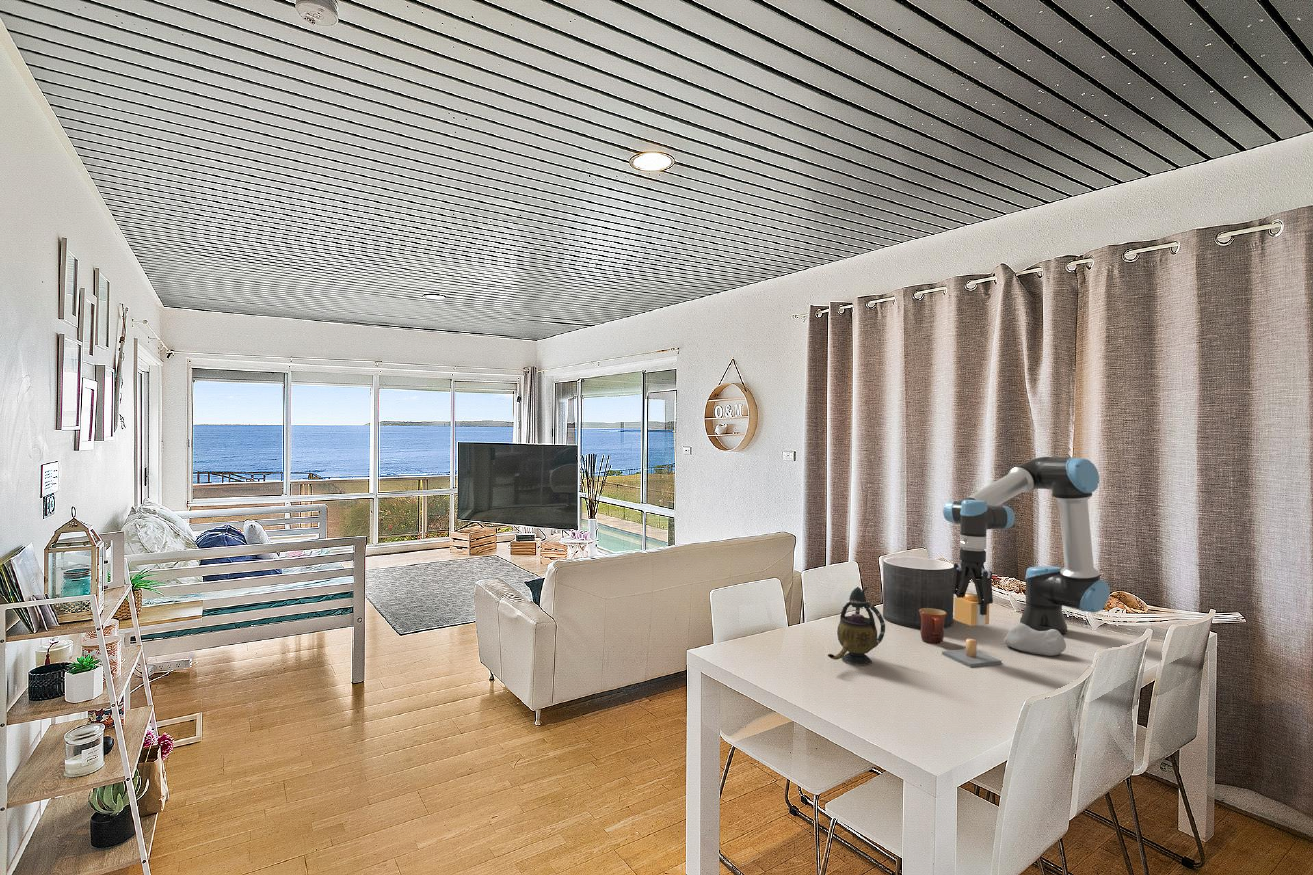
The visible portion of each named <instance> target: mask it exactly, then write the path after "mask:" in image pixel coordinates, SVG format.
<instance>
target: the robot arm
mask: <svg viewBox="0 0 1313 875" xmlns="http://www.w3.org/2000/svg"><path fill="white" fill-rule="evenodd" d="M1099 483H1100V474H1099V470H1098V469H1097V467H1096V465H1095V464H1094V463H1093V462H1091V460H1089V459H1087V458H1082V457H1075V456H1073V457H1072V456H1071V457H1069V456H1065V457H1064V456H1041V457H1040V456H1039V457H1037V458H1034V459H1030V460H1028V461H1025V462H1023V463H1021V464H1018V465H1016V466H1015V467H1013V468H1011V469H1010V470H1009V471H1008V473H1007V475H1004V476H1003V477H1001V478H999V479H997V480H996V481H994V482H993V483H990V484H989V485H987V486H985V487H983V488H982V489H980V490H978V491H976V492H974V493H972V494H971V495H969V496H966V497H965V498H964V499H961V500H959V501H958V500H950V501H947V502H946V503H945V504H944V506H943V509H942V514H943V517H944V519H945V521H947V522H949V523H953V524H955V525H958V524H959V525H960V534H959V538H960V539H959V540H960V541H959V546H960V549H959V560H960V561H961V563H953V565H954V578H953V587H952V593H953V594H954V596H956V598H960V597H965V594H966V593H967V591H968V588H969V584H970V582H971V581H972V583H973V584H974V587H975V588H974V589H975V592H976V594H977V596H978V600H979V603H977V618H976V625H975V626H985V615H986V614H987V604H989V605H990V604H993V603H994V598H993V596H994V594H993V585H992V578H993V571H990V570H989V571H988V570H986V569H985V568H986V567H985V563H986V562H987V551H986V549H987V530H1005V529H1009V528H1011V527H1012V526H1013V525H1014V524H1015V522H1016V515H1015V513H1014V510H1013V509H1012V508H1010V507H1009V506H1007V505H1003V504H1004V503H1005V502H1007V501H1009V500H1011V499H1012V498H1014V497H1016V496H1017V495H1019V494H1021V493H1028V492H1031V491H1032V490H1051V491H1052V497H1053V498H1054V499H1055V500H1056V501H1057V502H1058V512H1059V513H1058V514H1059V521H1060V522H1059V523H1060V532H1061V533H1060V534H1061V539H1062V540H1061V541H1062V542H1061V543H1062V551H1063V554H1062V555H1063V563H1064V567H1060V566H1044V565H1042V566H1030V567H1028V568H1027V569H1026V572H1025V606H1024V608H1023V611H1022V613H1021V614H1022V615H1021V617H1019V618H1020V619H1019V623H1023V624H1025V625H1027V626H1028V627H1030V628H1031V629H1034V630H1036V631H1048V630H1050V629H1055V630H1057V631H1059V632H1060V633H1061V635H1062V636H1063V635H1066V634H1067V633H1068V624H1066V620H1065V615H1064V613H1063V607H1067V608H1069V609H1073V610H1078V611H1081V612H1088V613H1094V614H1095V613H1098V612H1100V611H1102V610H1103V609H1104V608H1105V606H1106V605H1107V603H1108V601H1109V598H1110V593H1111V591H1110V586H1109V584H1108V582H1107V581H1105V580H1103V579H1101V573H1100V571H1099V570H1098V569H1096V568H1095V566H1094V554H1093V544H1092V534H1091V522H1090V513H1089V512H1090V511H1089V502H1088V500H1090V499H1091V498H1092V497H1093V492H1096V491H1097V489H1098V487H1099Z"/></svg>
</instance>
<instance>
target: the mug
mask: <svg viewBox="0 0 1313 875" xmlns="http://www.w3.org/2000/svg"><path fill="white" fill-rule="evenodd" d="M919 613H920V616H921V628H920V638H921V640H922V641H923V642H925V643H927V644H933V645H934V644H935V645H939V644H942V643H943V642H944V638H945V628H944V620H945V617H946V612H945V611H942V610H938V609H932V608H922V609H919Z"/></svg>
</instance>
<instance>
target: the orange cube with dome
mask: <svg viewBox="0 0 1313 875" xmlns="http://www.w3.org/2000/svg"><path fill="white" fill-rule="evenodd" d="M977 603H979V600H978V596H977V593H970V592H968V593H967V592H966V594H965V597H960V598H957V597H954V605H953V621H955V622H959V623H962V624H964V625H967V626H970V627H973V626H977V625H976V618H977ZM985 625H990V604H987V614H986V615H985ZM985 625H984V626H985Z"/></svg>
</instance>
